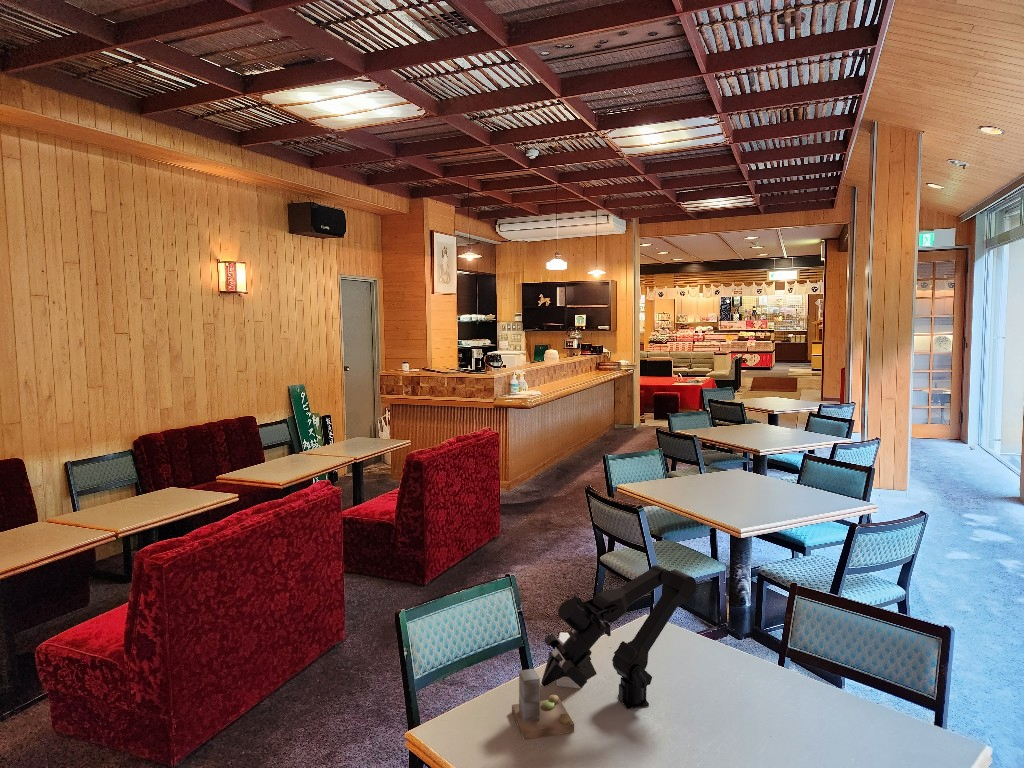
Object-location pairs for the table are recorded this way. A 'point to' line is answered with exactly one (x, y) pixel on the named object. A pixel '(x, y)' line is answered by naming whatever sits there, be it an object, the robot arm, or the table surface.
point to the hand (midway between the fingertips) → (542, 685)
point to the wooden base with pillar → (539, 710)
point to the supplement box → (565, 680)
